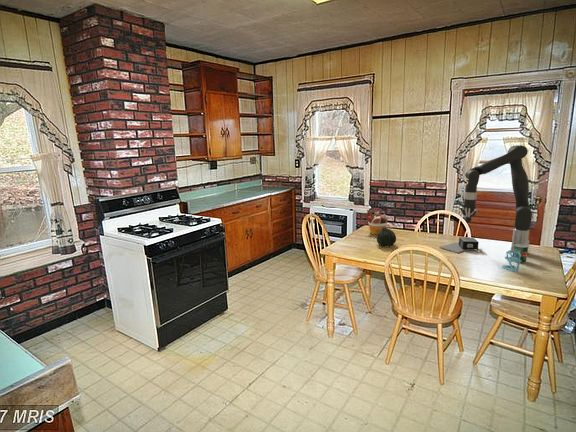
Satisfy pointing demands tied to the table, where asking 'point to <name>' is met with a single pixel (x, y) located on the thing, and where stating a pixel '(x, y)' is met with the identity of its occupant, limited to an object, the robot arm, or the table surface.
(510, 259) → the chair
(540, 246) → the table surface
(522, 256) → the canned tomato
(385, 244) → the squash
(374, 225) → the bucket of meat
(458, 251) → the mat
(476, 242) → the small box
